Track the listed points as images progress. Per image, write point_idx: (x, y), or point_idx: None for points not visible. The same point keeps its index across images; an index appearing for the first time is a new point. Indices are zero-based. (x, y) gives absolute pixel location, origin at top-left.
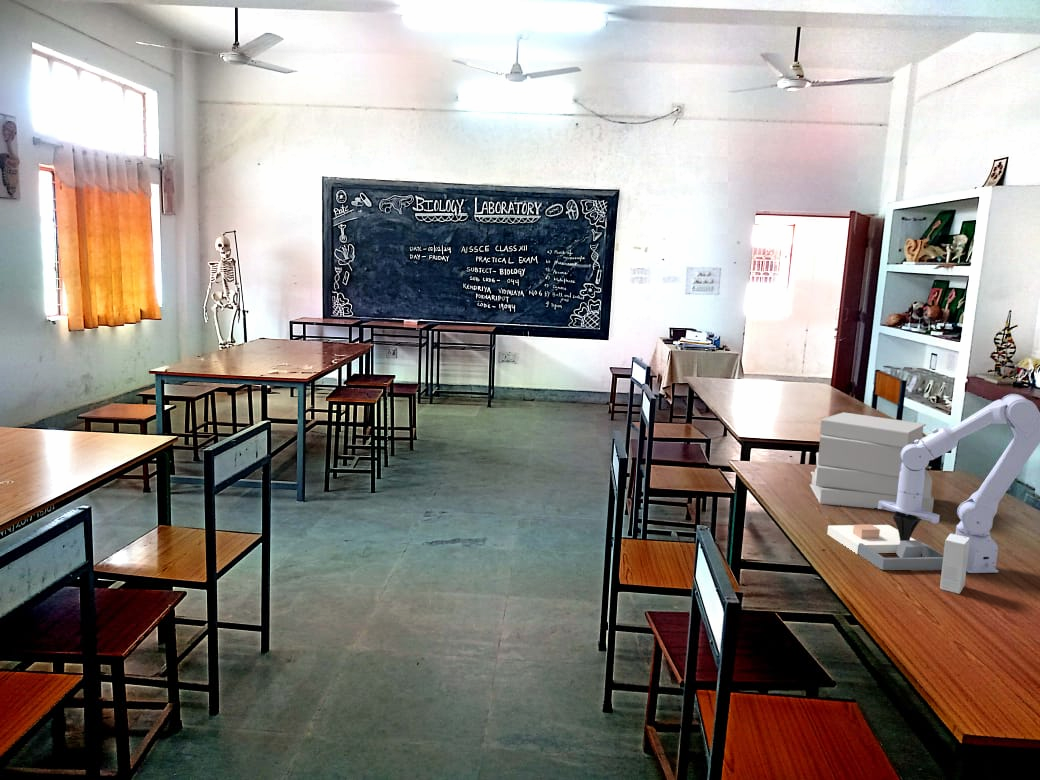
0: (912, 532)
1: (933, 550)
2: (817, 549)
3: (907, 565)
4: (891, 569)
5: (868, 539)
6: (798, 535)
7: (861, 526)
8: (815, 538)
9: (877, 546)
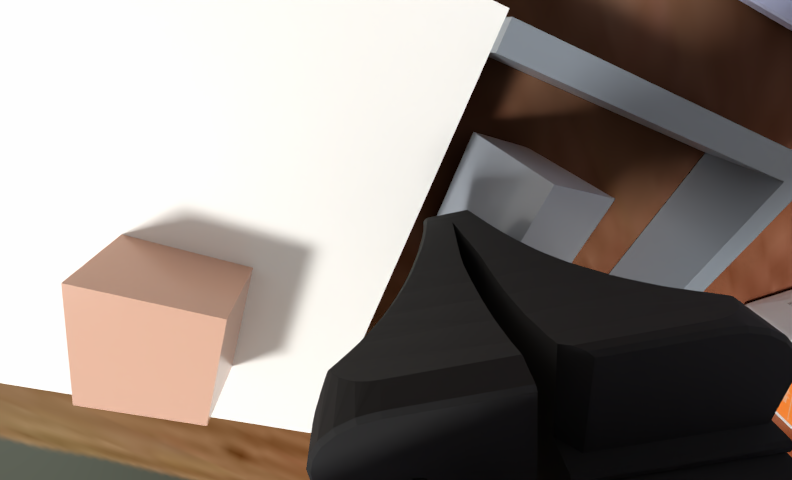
0: (517, 243)
1: (666, 127)
2: (227, 465)
3: None
4: None
5: (253, 338)
6: (31, 439)
7: (127, 388)
8: (78, 406)
9: None
